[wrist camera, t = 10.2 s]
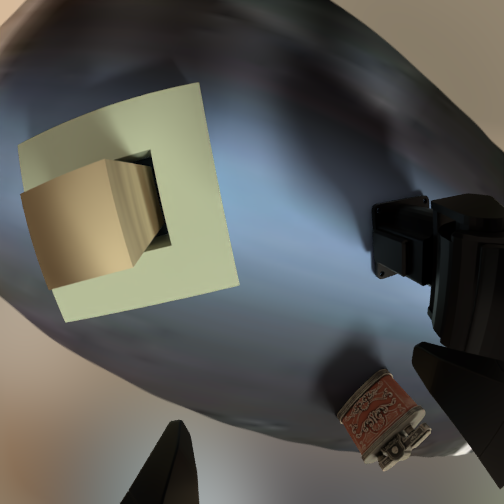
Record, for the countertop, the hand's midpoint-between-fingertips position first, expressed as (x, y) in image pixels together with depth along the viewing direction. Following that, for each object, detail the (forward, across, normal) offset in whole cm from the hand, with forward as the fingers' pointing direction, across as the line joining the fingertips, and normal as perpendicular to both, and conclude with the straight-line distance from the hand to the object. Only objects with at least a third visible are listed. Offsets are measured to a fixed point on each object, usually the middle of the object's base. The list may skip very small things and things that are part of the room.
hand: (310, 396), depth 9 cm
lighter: (+13, -10, +18) cm, 24 cm away
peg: (+13, +7, -7) cm, 16 cm away
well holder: (+13, +7, -7) cm, 16 cm away
